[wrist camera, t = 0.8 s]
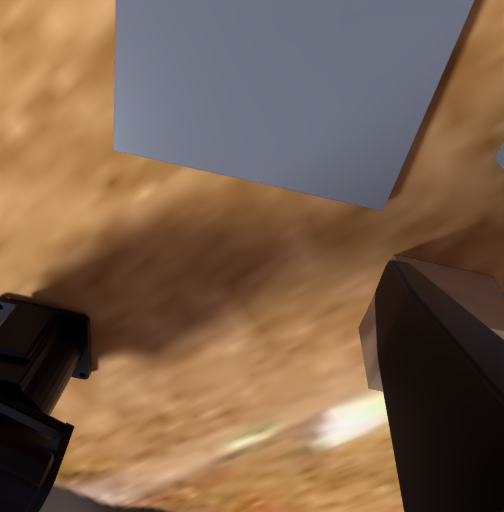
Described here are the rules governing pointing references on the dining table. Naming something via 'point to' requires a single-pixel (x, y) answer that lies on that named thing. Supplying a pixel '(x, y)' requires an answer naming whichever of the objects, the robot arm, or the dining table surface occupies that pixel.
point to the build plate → (282, 87)
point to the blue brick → (500, 157)
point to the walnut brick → (455, 285)
